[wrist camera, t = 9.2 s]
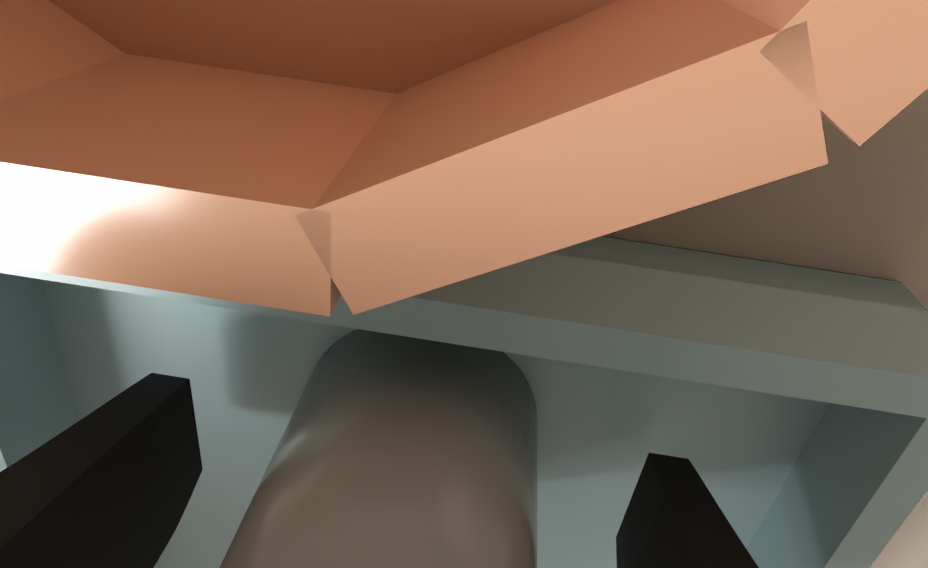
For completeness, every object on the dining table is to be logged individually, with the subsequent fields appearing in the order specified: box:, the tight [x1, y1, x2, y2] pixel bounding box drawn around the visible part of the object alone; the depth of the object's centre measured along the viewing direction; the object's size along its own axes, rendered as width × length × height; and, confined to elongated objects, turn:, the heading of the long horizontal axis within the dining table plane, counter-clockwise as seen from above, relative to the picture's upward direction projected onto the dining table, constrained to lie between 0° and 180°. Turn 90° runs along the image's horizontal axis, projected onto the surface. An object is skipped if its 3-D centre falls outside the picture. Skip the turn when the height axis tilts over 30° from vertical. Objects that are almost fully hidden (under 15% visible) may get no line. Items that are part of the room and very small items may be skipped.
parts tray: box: [0, 236, 928, 568], centre depth 12 cm, size 14×14×2 cm
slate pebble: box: [220, 329, 537, 568], centre depth 9 cm, size 4×4×5 cm
